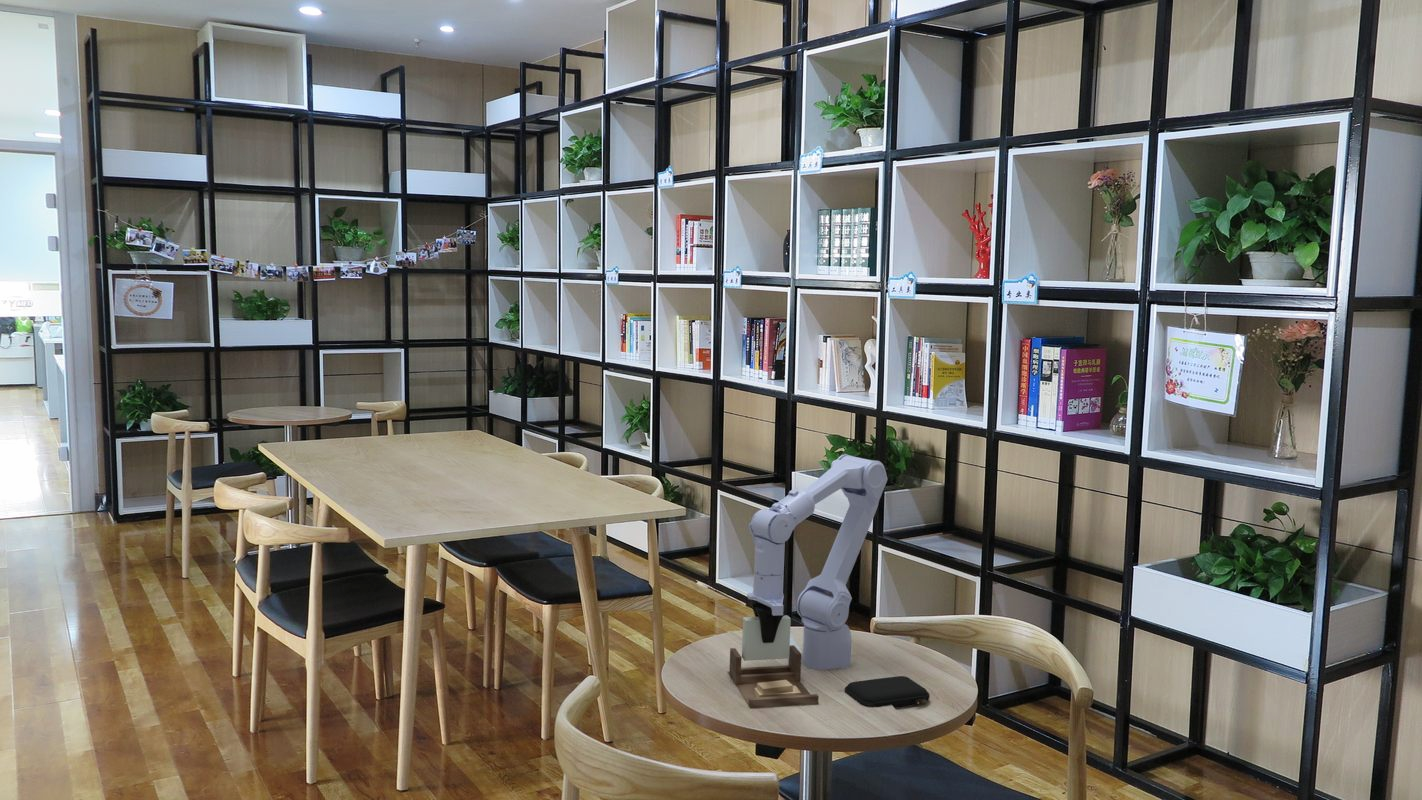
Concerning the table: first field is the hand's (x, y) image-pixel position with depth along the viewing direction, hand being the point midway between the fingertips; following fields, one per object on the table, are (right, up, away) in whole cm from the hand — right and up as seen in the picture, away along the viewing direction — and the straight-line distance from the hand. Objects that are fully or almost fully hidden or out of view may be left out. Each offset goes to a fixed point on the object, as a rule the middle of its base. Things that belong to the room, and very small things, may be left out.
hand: (766, 640), depth 208 cm
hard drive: (+4, -7, +22) cm, 23 cm away
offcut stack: (+2, -9, -8) cm, 12 cm away
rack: (+1, -9, -3) cm, 10 cm away
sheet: (0, -4, 0) cm, 4 cm away
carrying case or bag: (+23, -11, -5) cm, 26 cm away
